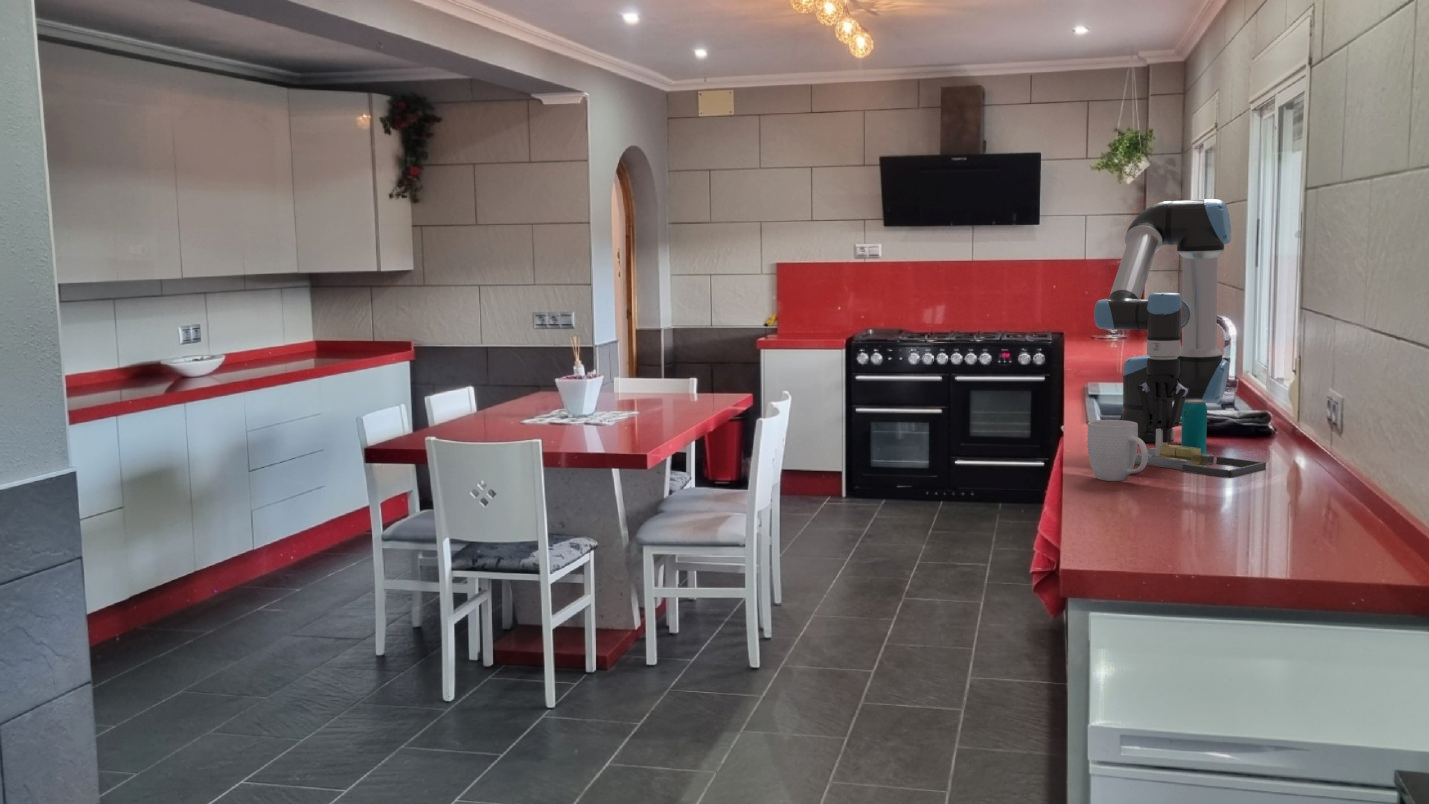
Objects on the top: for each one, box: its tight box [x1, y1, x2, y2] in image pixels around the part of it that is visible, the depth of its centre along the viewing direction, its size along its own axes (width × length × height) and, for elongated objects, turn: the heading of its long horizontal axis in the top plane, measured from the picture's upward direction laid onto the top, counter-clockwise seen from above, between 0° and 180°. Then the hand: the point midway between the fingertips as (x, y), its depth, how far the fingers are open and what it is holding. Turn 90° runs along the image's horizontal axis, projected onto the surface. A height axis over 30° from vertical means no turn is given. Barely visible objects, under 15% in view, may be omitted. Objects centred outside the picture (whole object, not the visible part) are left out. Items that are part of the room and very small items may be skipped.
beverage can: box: [1180, 399, 1208, 454], centre depth 303 cm, size 6×6×15 cm
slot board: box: [1135, 447, 1215, 471], centre depth 294 cm, size 12×16×4 cm
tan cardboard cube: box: [1176, 446, 1201, 466], centre depth 290 cm, size 4×4×4 cm
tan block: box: [1160, 444, 1185, 458], centre depth 293 cm, size 4×4×4 cm
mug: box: [1087, 419, 1148, 482], centre depth 281 cm, size 15×11×13 cm
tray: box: [1182, 456, 1267, 478], centre depth 283 cm, size 15×12×3 cm
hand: (1161, 455), depth 295 cm, fingers closed
